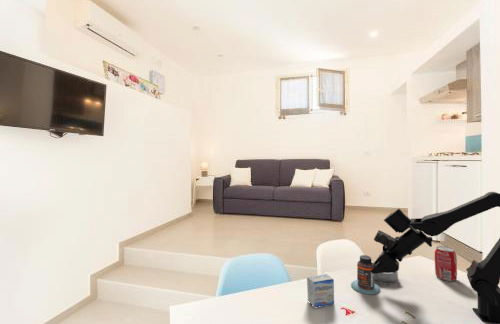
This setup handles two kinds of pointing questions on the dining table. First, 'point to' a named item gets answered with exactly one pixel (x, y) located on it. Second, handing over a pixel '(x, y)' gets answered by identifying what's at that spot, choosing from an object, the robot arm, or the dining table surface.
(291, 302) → the dining table surface
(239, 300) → the dining table surface
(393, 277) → the grey octagonal bowl
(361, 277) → the supplement bottle
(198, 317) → the dining table surface
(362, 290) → the teal mat
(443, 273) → the soda can
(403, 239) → the robot arm
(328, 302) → the medicine box
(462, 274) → the dining table surface
